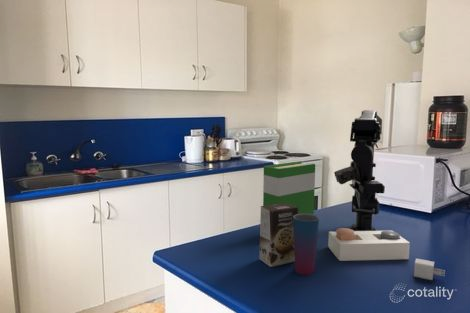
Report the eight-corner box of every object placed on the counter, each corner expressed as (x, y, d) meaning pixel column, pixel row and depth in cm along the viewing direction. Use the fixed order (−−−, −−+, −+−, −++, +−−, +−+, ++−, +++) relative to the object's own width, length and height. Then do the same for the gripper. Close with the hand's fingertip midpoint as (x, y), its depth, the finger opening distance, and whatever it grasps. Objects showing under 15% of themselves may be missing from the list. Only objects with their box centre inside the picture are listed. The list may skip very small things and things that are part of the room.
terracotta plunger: (333, 245, 115) (334, 228, 114) (349, 244, 115) (350, 227, 115) (339, 251, 110) (339, 234, 109) (356, 251, 110) (357, 233, 109)
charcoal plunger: (377, 247, 116) (378, 231, 115) (393, 247, 116) (394, 230, 116) (384, 254, 111) (385, 236, 110) (401, 254, 111) (403, 236, 110)
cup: (318, 267, 103) (320, 214, 101) (315, 277, 97) (317, 222, 95) (294, 263, 105) (295, 212, 103) (289, 274, 99) (290, 219, 97)
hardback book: (298, 224, 140) (299, 161, 136) (313, 229, 134) (315, 164, 131) (262, 234, 129) (263, 166, 126) (277, 240, 123) (279, 169, 120)
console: (328, 246, 118) (328, 231, 117) (391, 245, 119) (392, 230, 118) (339, 260, 107) (340, 244, 107) (408, 259, 109) (409, 242, 108)
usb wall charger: (415, 271, 101) (416, 257, 100) (444, 277, 97) (445, 263, 97) (413, 277, 97) (414, 262, 97) (444, 283, 94) (445, 268, 93)
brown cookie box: (270, 267, 103) (271, 211, 100) (258, 259, 108) (259, 205, 106) (297, 261, 107) (299, 207, 105) (284, 253, 113) (285, 201, 110)
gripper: (328, 154, 123) (327, 200, 125) (348, 165, 104) (345, 218, 107) (361, 154, 123) (359, 199, 126) (387, 164, 105) (383, 217, 107)
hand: (361, 208), depth 116 cm, fingers closed
